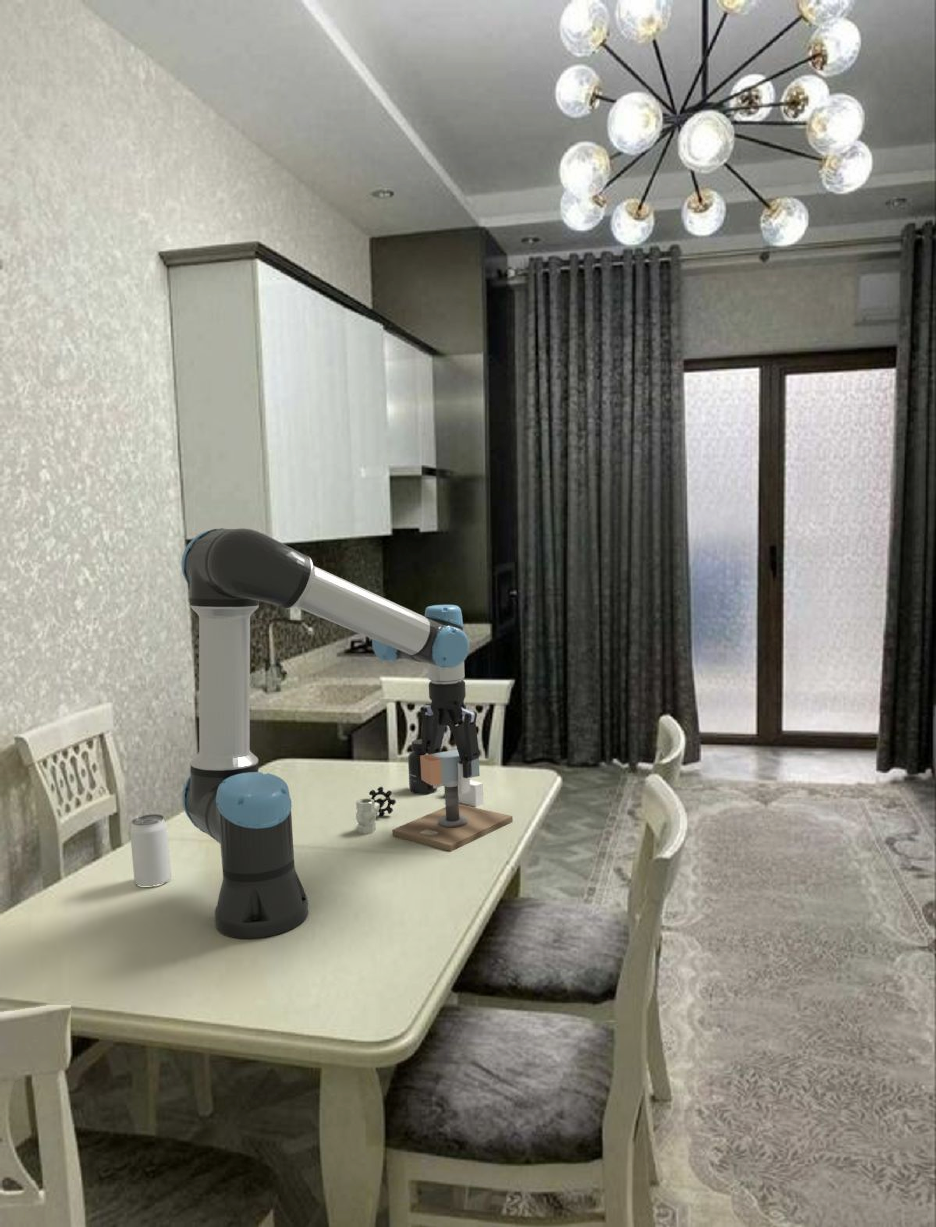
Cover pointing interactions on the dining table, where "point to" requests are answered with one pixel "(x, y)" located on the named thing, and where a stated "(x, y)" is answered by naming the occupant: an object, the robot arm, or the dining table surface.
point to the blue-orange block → (444, 768)
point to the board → (452, 824)
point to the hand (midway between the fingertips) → (451, 789)
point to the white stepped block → (472, 794)
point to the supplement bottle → (417, 770)
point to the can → (150, 850)
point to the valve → (372, 810)
